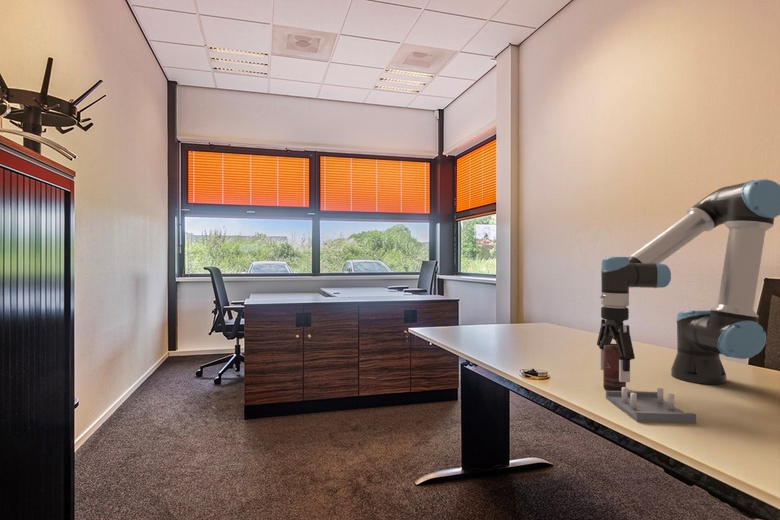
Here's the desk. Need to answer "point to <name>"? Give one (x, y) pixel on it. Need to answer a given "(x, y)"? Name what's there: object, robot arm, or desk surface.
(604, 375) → the can
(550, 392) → the desk surface
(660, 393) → the tray
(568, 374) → the desk surface
